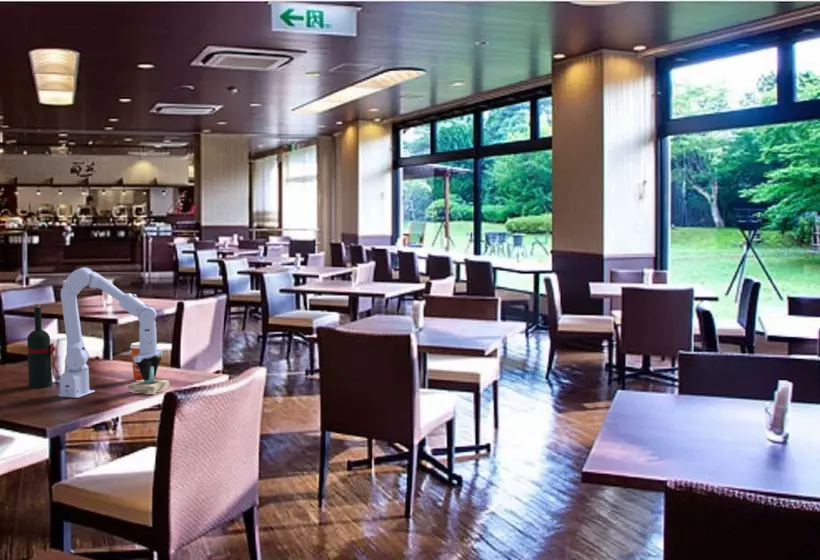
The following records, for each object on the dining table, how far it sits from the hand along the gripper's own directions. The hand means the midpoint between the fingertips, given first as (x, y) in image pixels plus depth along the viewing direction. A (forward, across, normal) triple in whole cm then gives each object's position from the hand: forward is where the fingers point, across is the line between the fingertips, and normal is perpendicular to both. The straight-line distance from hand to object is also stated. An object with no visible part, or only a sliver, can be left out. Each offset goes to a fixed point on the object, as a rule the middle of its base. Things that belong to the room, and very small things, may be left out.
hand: (149, 378), depth 280 cm
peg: (+3, 0, 0) cm, 3 cm away
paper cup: (+5, +15, +13) cm, 20 cm away
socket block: (+4, 0, 0) cm, 4 cm away
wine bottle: (+5, -4, +41) cm, 41 cm away
